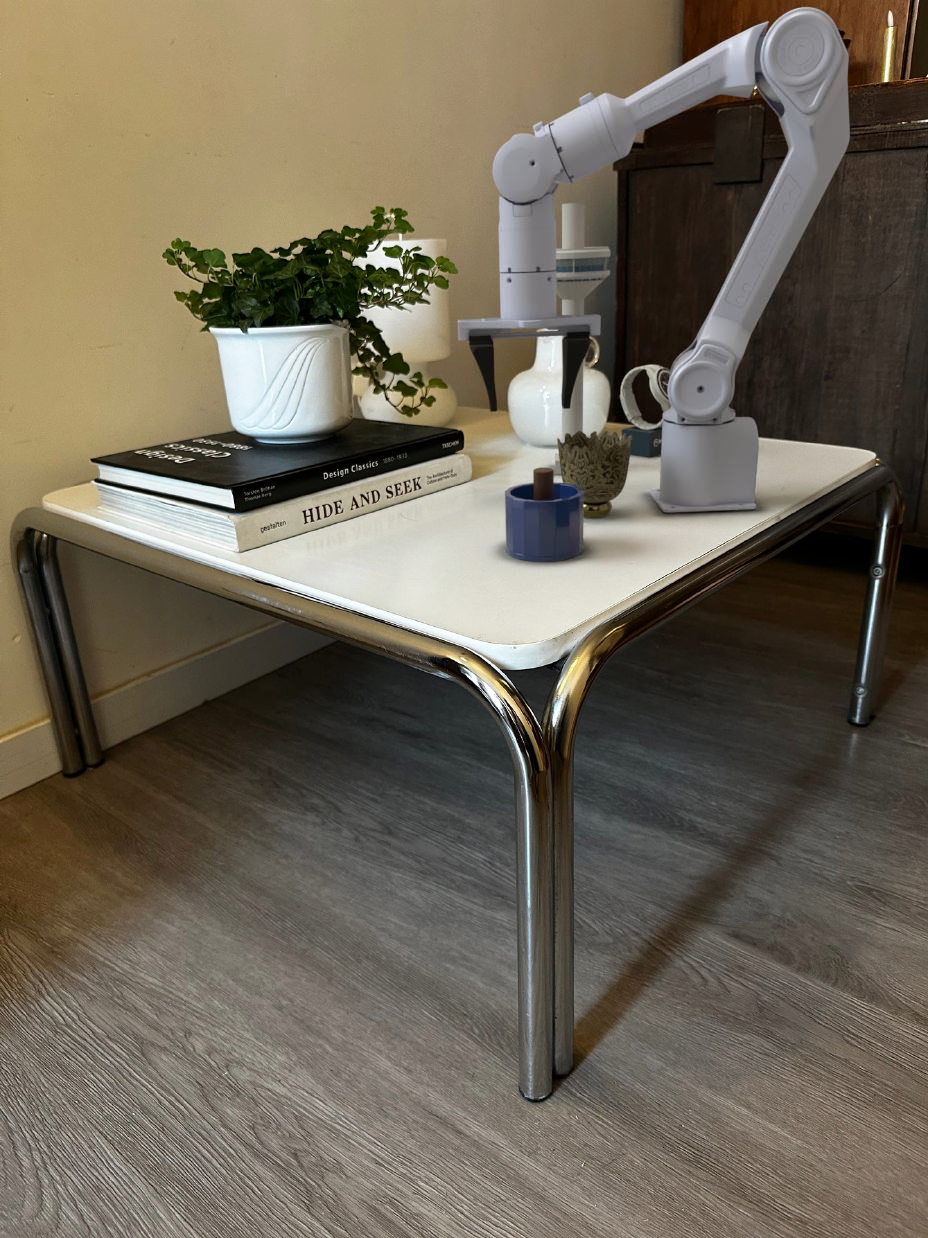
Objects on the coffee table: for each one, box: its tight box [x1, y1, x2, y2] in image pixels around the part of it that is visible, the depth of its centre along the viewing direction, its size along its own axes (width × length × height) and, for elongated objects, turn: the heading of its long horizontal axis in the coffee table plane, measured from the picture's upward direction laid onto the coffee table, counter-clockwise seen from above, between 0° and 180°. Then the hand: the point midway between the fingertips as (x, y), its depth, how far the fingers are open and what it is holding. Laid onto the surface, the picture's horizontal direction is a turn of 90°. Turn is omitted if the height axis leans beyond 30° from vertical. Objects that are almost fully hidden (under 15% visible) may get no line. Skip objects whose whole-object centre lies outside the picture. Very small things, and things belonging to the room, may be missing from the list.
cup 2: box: [556, 430, 632, 519], centre depth 94 cm, size 8×7×8 cm
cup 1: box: [504, 481, 585, 563], centre depth 84 cm, size 7×7×6 cm
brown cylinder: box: [532, 467, 555, 501], centre depth 84 cm, size 2×2×7 cm
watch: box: [619, 364, 672, 458], centre depth 120 cm, size 6×8×11 cm
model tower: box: [552, 202, 611, 475], centre depth 108 cm, size 8×8×30 cm
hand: (529, 408), depth 98 cm, fingers open, 7 cm apart
